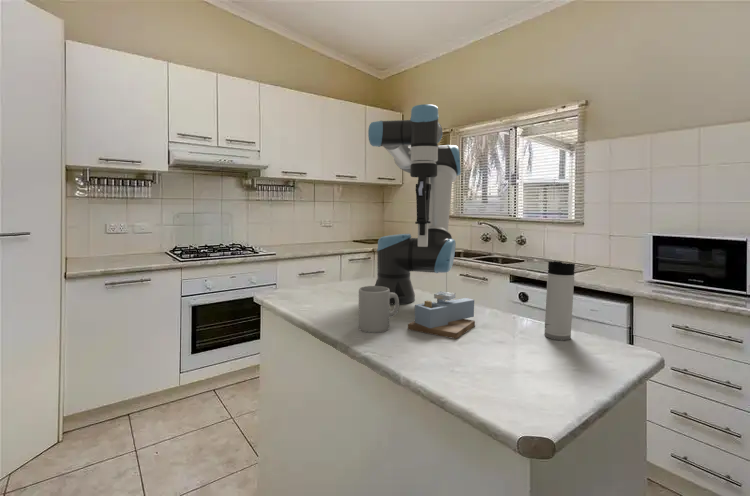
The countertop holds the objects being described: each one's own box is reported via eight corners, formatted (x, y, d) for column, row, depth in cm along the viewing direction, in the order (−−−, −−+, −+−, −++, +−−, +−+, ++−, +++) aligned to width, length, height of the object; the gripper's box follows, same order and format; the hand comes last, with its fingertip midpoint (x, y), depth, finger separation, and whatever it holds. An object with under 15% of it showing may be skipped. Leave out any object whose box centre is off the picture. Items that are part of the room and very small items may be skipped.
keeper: (439, 315, 120) (439, 291, 119) (455, 318, 117) (456, 293, 117) (432, 319, 116) (432, 293, 115) (448, 322, 114) (449, 296, 113)
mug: (366, 334, 107) (367, 293, 106) (353, 325, 115) (353, 287, 114) (406, 328, 113) (406, 289, 112) (390, 320, 120) (391, 283, 119)
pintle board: (429, 318, 123) (430, 293, 122) (474, 325, 116) (475, 299, 115) (407, 329, 112) (408, 302, 111) (456, 338, 104) (457, 310, 104)
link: (430, 328, 108) (430, 309, 107) (414, 322, 113) (414, 304, 113) (477, 318, 118) (478, 301, 118) (461, 313, 123) (462, 296, 123)
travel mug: (540, 337, 106) (544, 260, 104) (549, 331, 111) (553, 258, 109) (565, 342, 102) (570, 263, 100) (574, 336, 107) (578, 260, 105)
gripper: (414, 164, 122) (413, 243, 126) (406, 161, 110) (405, 249, 113) (439, 164, 120) (438, 243, 124) (434, 161, 108) (433, 250, 111)
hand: (422, 246), depth 118 cm, fingers closed
